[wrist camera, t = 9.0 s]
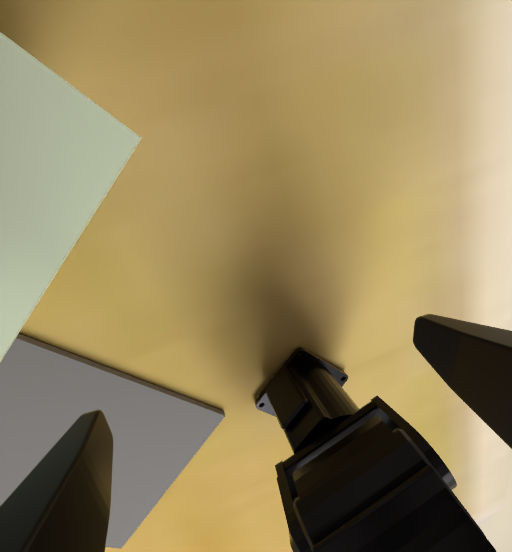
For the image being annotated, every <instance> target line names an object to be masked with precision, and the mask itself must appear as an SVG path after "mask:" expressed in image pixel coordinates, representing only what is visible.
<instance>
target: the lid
mask: <svg viewBox="0 0 512 552" xmlns="http://www.w3.org/2000/svg"><path fill="white" fill-rule="evenodd" d="M141 139H142V138H141V137H140V136H138V135H137V134H136V133H134V132H133V131H132V130H130V129H129V128H128V127H126V126H125V125H124V124H122V123H121V122H120V121H118V120H117V119H116V118H114V117H113V116H112V115H110V114H109V113H108V112H106V111H105V110H104V109H102V108H101V107H100V106H98V105H97V104H96V103H94V102H93V101H92V100H90V99H89V98H88V97H86V96H85V95H84V94H82V93H81V92H80V91H78V90H77V89H76V88H74V87H73V86H72V85H70V84H69V83H68V82H66V81H65V80H64V79H62V78H61V77H60V76H58V75H57V74H56V73H54V72H53V71H52V70H50V69H49V68H48V67H46V66H45V65H44V64H42V63H41V62H40V61H38V60H37V59H36V58H34V57H33V56H32V55H30V54H29V53H28V52H26V51H25V50H24V49H22V48H21V47H20V46H18V45H17V44H16V43H14V42H13V41H12V40H10V39H9V38H8V37H6V36H5V35H4V34H2V33H1V32H0V362H1V360H2V359H3V357H4V356H5V354H6V353H7V351H8V349H9V348H10V346H11V345H12V343H13V341H14V340H15V338H16V337H17V335H18V334H19V332H20V330H21V329H22V327H23V326H24V324H25V323H26V321H27V319H28V318H29V316H30V315H31V313H32V311H33V310H34V308H35V307H36V305H37V304H38V302H39V300H40V299H41V297H42V296H43V294H44V293H45V291H46V289H47V288H48V286H49V285H50V283H51V281H52V280H53V278H54V277H55V275H56V274H57V272H58V270H59V269H60V267H61V266H62V264H63V263H64V261H65V259H66V258H67V256H68V255H69V253H70V251H71V250H72V248H73V247H74V245H75V244H76V242H77V240H78V239H79V237H80V236H81V234H82V233H83V231H84V229H85V228H86V226H87V225H88V223H89V222H90V220H91V218H92V217H93V215H94V214H95V212H96V210H97V209H98V207H99V206H100V204H101V203H102V201H103V199H104V198H105V196H106V195H107V193H108V192H109V190H110V188H111V187H112V185H113V184H114V182H115V180H116V179H117V177H118V176H119V174H120V173H121V171H122V169H123V168H124V166H125V165H126V163H127V162H128V160H129V158H130V157H131V155H132V154H133V152H134V150H135V149H136V147H137V146H138V144H139V143H140V141H141Z"/></svg>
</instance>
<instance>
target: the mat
mask: <svg viewBox="0 0 512 552" xmlns="http://www.w3.org/2000/svg"><path fill="white" fill-rule="evenodd" d="M95 410H101V411H102V412H103V413H104V415H105V418H106V420H107V423H108V425H109V427H110V430H111V432H112V435H113V464H112V487H111V507H110V517H109V525H108V532H107V539H106V546H105V547H112V548H122V547H123V546H124V544H125V543H126V542H127V541H128V539H129V538H130V537H131V536H132V534H133V533H134V532H135V530H136V529H137V528H138V527H139V525H140V524H141V523H142V521H143V520H144V519H145V518H146V516H147V515H148V514H149V513H150V511H151V510H152V509H153V507H154V506H155V505H156V504H157V502H158V501H159V500H160V498H161V497H162V496H163V495H164V493H165V492H166V491H167V490H168V488H169V487H170V486H171V484H172V483H173V482H174V481H175V479H176V478H177V477H178V475H179V474H180V473H181V472H182V470H183V469H184V468H185V467H186V465H187V464H188V463H189V461H190V460H191V459H192V458H193V456H194V455H195V454H196V452H197V451H198V450H199V449H200V447H201V446H202V445H203V444H204V442H205V441H206V440H207V438H208V437H209V436H210V435H211V433H212V432H213V431H214V429H215V428H216V427H217V426H218V424H219V423H220V422H221V421H222V419H223V418H224V417H225V413H224V411H222V410H219V409H217V408H214V407H211V406H209V405H206V404H203V403H201V402H198V401H195V400H193V399H190V398H188V397H185V396H182V395H180V394H177V393H174V392H172V391H169V390H166V389H164V388H161V387H159V386H156V385H153V384H151V383H148V382H145V381H143V380H140V379H137V378H135V377H132V376H130V375H127V374H124V373H122V372H119V371H116V370H114V369H111V368H109V367H106V366H103V365H101V364H98V363H95V362H93V361H90V360H87V359H85V358H82V357H80V356H77V355H74V354H72V353H69V352H66V351H64V350H61V349H58V348H56V347H53V346H51V345H48V344H45V343H43V342H40V341H37V340H35V339H32V338H29V337H27V336H24V335H22V334H18V335H17V337H16V338H15V340H14V341H13V343H12V345H11V346H10V348H9V349H8V351H7V353H6V354H5V356H4V357H3V359H2V360H1V362H0V506H1V505H2V503H3V502H4V501H5V500H6V499H7V498H8V497H9V496H10V494H11V493H12V492H13V491H14V490H15V489H16V488H17V487H18V485H19V484H20V483H21V482H22V481H23V480H24V479H25V478H26V476H27V475H28V474H29V473H30V472H31V471H32V470H33V468H34V467H35V466H36V465H37V464H38V463H39V462H40V461H41V459H42V458H43V457H44V456H45V455H46V454H47V453H48V452H49V450H50V449H51V448H52V447H53V446H54V445H55V444H56V443H57V441H58V440H59V439H60V438H61V437H62V436H63V435H64V434H65V432H66V431H67V430H68V429H69V428H70V427H71V426H72V424H73V423H74V422H75V421H76V420H77V419H78V418H79V417H80V416H81V415H82V414H84V413H88V412H91V411H95Z"/></svg>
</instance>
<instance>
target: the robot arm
mask: <svg viewBox="0 0 512 552" xmlns="http://www.w3.org/2000/svg"><path fill="white" fill-rule="evenodd" d="M413 343H414V345H415V347H416V348H417V350H418V351H419V352H420V353H421V354H422V356H423V357H424V358H425V359H426V360H427V361H428V363H429V364H430V365H431V366H432V367H433V368H434V370H435V371H436V372H437V373H438V374H439V375H440V377H441V378H442V379H443V380H444V381H445V382H446V383H447V385H448V386H449V387H450V388H451V389H452V390H453V391H454V392H455V393H456V394H457V395H458V396H459V397H460V398H461V399H462V400H463V401H464V402H465V403H466V404H467V405H468V406H469V407H470V408H471V409H472V410H473V411H474V412H475V413H476V414H477V415H478V416H479V417H480V418H481V419H482V420H483V421H484V422H485V423H486V424H487V425H488V426H489V427H490V428H491V429H492V430H493V431H494V432H495V433H496V434H497V435H498V436H499V437H500V438H501V439H502V440H503V441H504V442H505V443H506V444H507V445H508V446H509V447H510V448H512V331H509V330H504V329H500V328H495V327H490V326H485V325H480V324H476V323H471V322H466V321H461V320H456V319H452V318H447V317H442V316H437V315H432V314H427V315H423V316H420V317H418V318H416V320H415V325H414V334H413ZM300 353H302V354H301V355H299V354H300ZM347 379H348V376H347V374H346V373H345V372H344V371H342V370H340V369H338V368H337V367H335V366H333V365H331V364H330V363H328V362H326V361H324V360H323V359H321V358H319V357H317V356H316V355H314V354H312V353H310V352H309V351H307V350H305V349H303V348H298V349H296V350H295V351H294V353H293V354H292V355H291V356H290V358H289V359H288V360H287V361H286V363H285V364H284V365H283V367H282V368H281V369H280V370H279V372H278V373H277V374H276V375H275V377H274V378H273V379H272V380H271V382H270V383H269V384H268V385H267V387H266V388H265V389H264V390H263V392H262V393H261V394H260V396H259V397H258V398H257V399H256V401H255V405H256V407H257V409H259V410H261V411H263V412H266V413H268V414H271V415H273V416H276V417H277V419H278V421H279V424H280V426H281V428H282V429H283V430H284V432H285V434H286V437H287V439H288V441H289V443H290V446H291V448H292V450H293V452H294V455H292V456H291V457H289V458H288V459H286V460H285V461H284V462H282V461H281V462H280V463H278V464H277V465H275V467H276V471H277V475H278V477H277V482H278V486H279V490H280V494H281V498H282V503H283V507H284V511H285V515H286V519H287V524H288V528H289V535H290V544H291V547H292V550H293V552H496V550H495V549H494V547H493V546H492V545H491V543H490V542H489V541H488V540H487V538H486V536H485V535H484V533H483V532H482V530H481V529H480V528H479V526H478V525H477V524H476V522H475V521H474V520H473V518H472V517H471V516H470V514H469V513H468V512H467V510H466V509H465V508H464V506H463V505H462V504H461V502H460V501H459V500H458V498H457V497H456V496H455V495H454V493H453V492H452V491H451V490H452V489H454V488H455V487H456V486H457V484H456V481H455V479H454V477H453V476H452V474H451V472H450V471H449V469H448V468H447V466H446V465H445V463H444V462H443V461H442V459H441V458H440V457H439V455H438V454H437V453H436V452H435V451H434V449H433V448H432V447H431V446H430V445H429V443H428V442H427V441H426V440H425V439H424V438H423V437H422V436H421V435H420V434H419V433H418V432H417V431H416V430H415V429H414V428H413V427H412V426H411V425H410V424H409V423H408V422H406V421H405V420H404V419H403V418H402V417H401V416H400V415H399V414H397V413H396V412H395V411H394V410H393V409H392V408H391V407H390V406H388V405H387V404H386V403H385V402H384V401H383V400H382V399H381V398H379V397H378V396H376V397H374V398H373V399H371V402H370V403H368V404H367V405H365V406H364V407H362V408H361V409H359V408H358V407H357V406H356V404H355V403H354V402H353V401H352V399H351V398H350V397H349V396H348V394H347V393H346V392H345V391H344V389H343V388H342V386H343V385H344V383H345V382H346V381H347ZM260 403H262V404H260ZM112 464H113V435H112V432H111V430H110V427H109V425H108V423H107V420H106V418H105V415H104V413H103V412H102V411H101V410H95V411H91V412H88V413H84V414H82V415H81V416H80V417H79V418H78V419H77V420H76V421H75V422H74V423H73V424H72V426H71V427H70V428H69V429H68V430H67V431H66V432H65V434H64V435H63V436H62V437H61V438H60V439H59V440H58V441H57V443H56V444H55V445H54V446H53V447H52V448H51V449H50V450H49V452H48V453H47V454H46V455H45V456H44V457H43V458H42V459H41V461H40V462H39V463H38V464H37V465H36V466H35V467H34V468H33V470H32V471H31V472H30V473H29V474H28V475H27V476H26V478H25V479H24V480H23V481H22V482H21V483H20V484H19V485H18V487H17V488H16V489H15V490H14V491H13V492H12V493H11V494H10V496H9V497H8V498H7V499H6V500H5V501H4V502H3V503H2V505H1V506H0V552H105V546H106V539H107V532H108V525H109V517H110V507H111V487H112Z"/></svg>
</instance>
